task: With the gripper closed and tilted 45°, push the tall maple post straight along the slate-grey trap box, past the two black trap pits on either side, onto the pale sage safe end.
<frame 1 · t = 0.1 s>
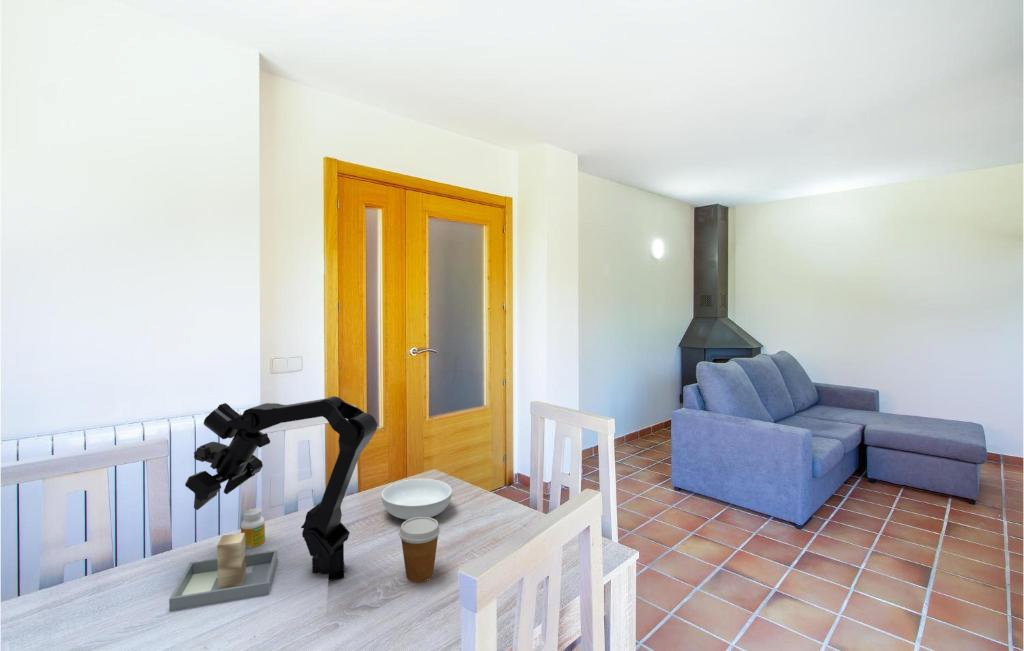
hand: (211, 500, 118), 15 cm above the table, tool tilted 35°, fingers open, 9 cm apart
supplement bottle: (253, 549, 125), on the table
disposable coffee cup: (419, 575, 114), on the table
maple post: (232, 582, 107), point 1 cm above the table, touching trap box
trap box: (228, 589, 107), on the table
serving bowl: (417, 513, 146), on the table
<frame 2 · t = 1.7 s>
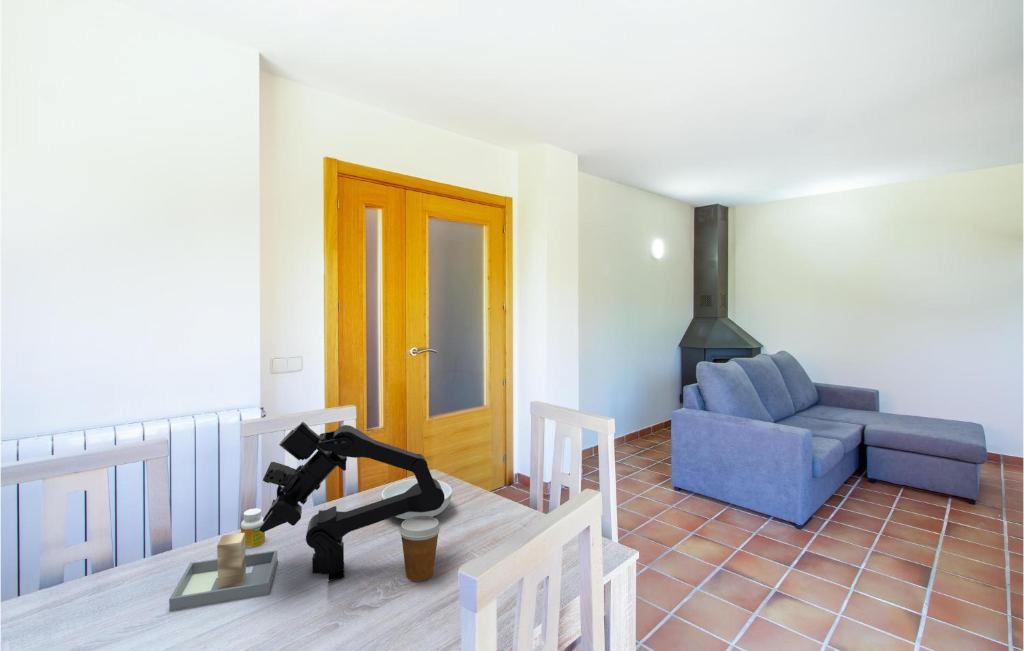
hand: (262, 526, 108), 13 cm above the table, tool tilted 45°, fingers open, 4 cm apart
disposable coffee cup: (419, 574, 114), on the table, touching arm
everything else where it was.
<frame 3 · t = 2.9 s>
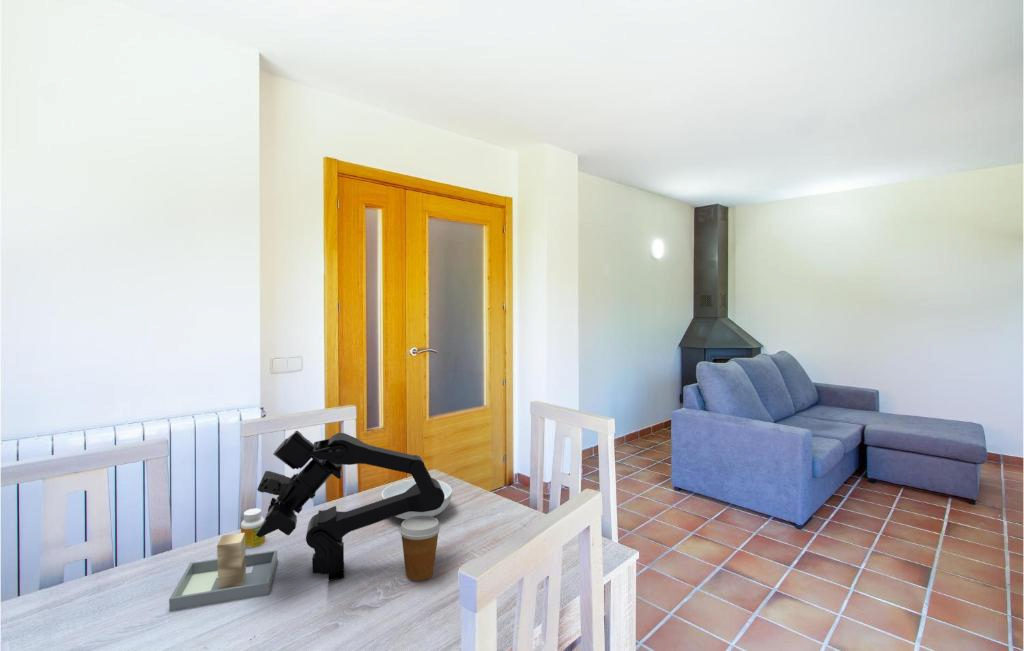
hand: (257, 535, 108), 11 cm above the table, tool tilted 45°, fingers closed
nothing on the table moved.
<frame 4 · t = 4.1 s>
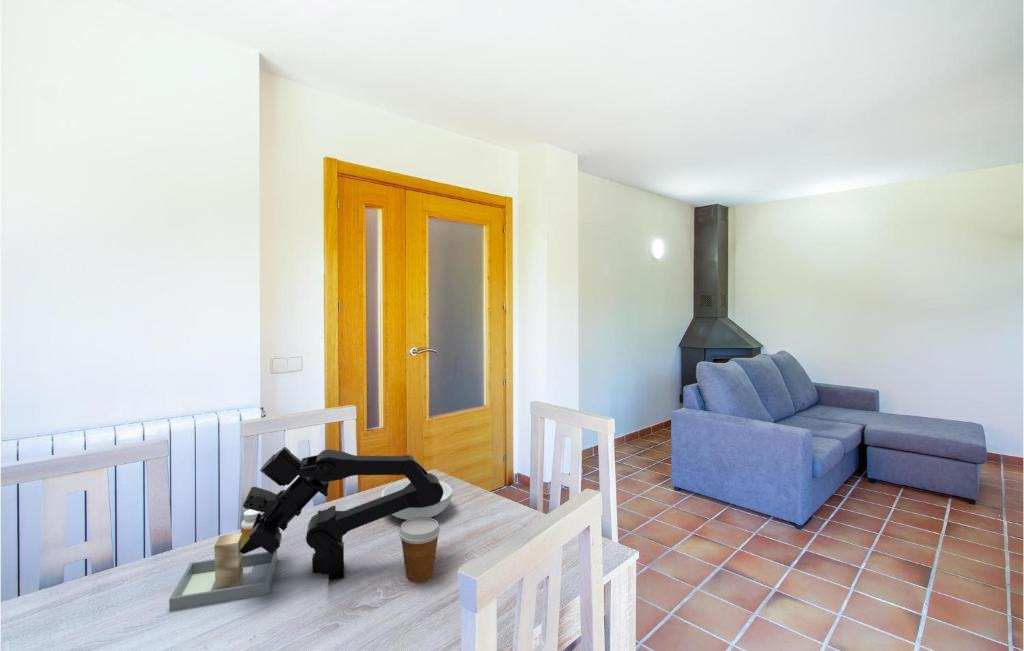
hand: (241, 552, 107), 8 cm above the table, tool tilted 45°, fingers closed, pressing on maple post
disposable coffee cup: (419, 575, 114), on the table
maple post: (229, 583, 107), point 1 cm above the table, touching gripper, trap box
everything else where it was.
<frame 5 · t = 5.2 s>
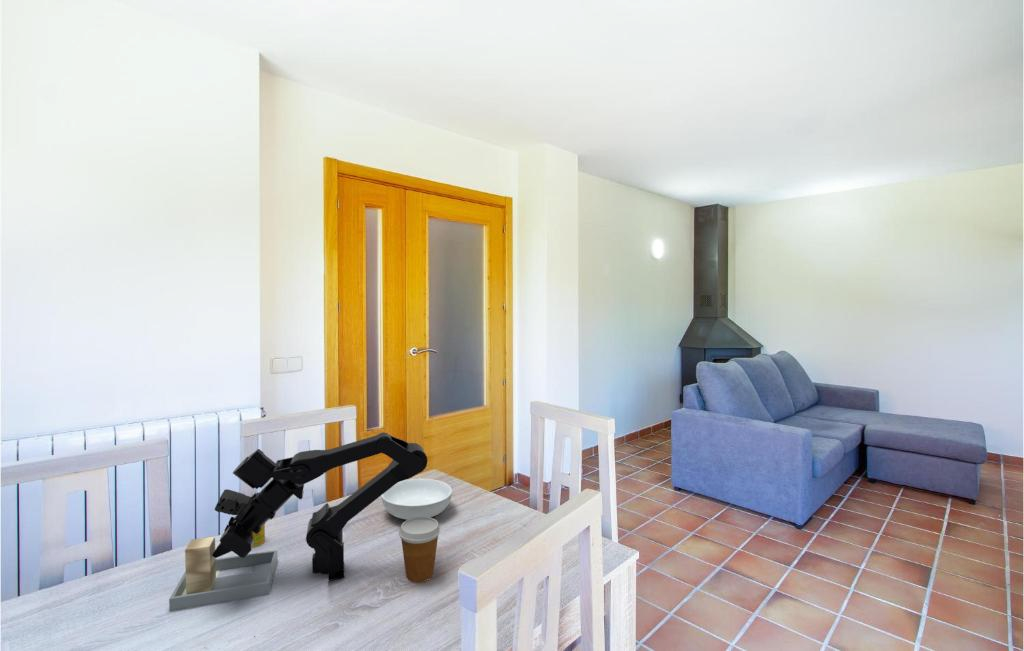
hand: (214, 556, 106), 8 cm above the table, tool tilted 45°, fingers closed, pressing on maple post
maple post: (201, 587, 105), point 1 cm above the table, touching gripper, trap box
everything else where it was.
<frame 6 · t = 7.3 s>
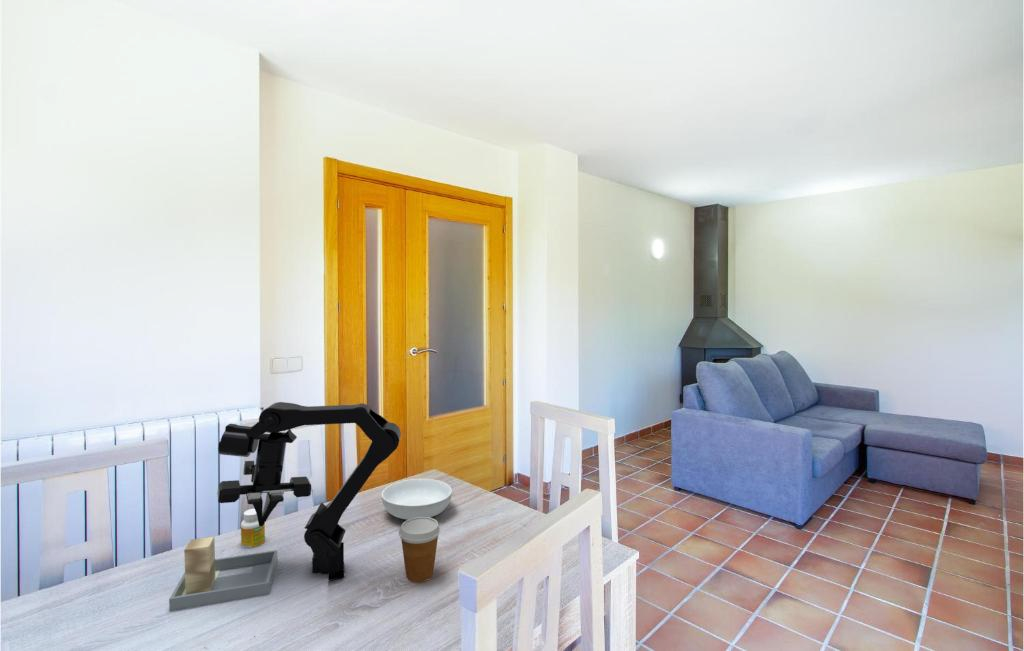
hand: (260, 525, 111), 13 cm above the table, tool pointing down, fingers closed
maple post: (201, 587, 105), point 1 cm above the table, touching trap box
everything else where it was.
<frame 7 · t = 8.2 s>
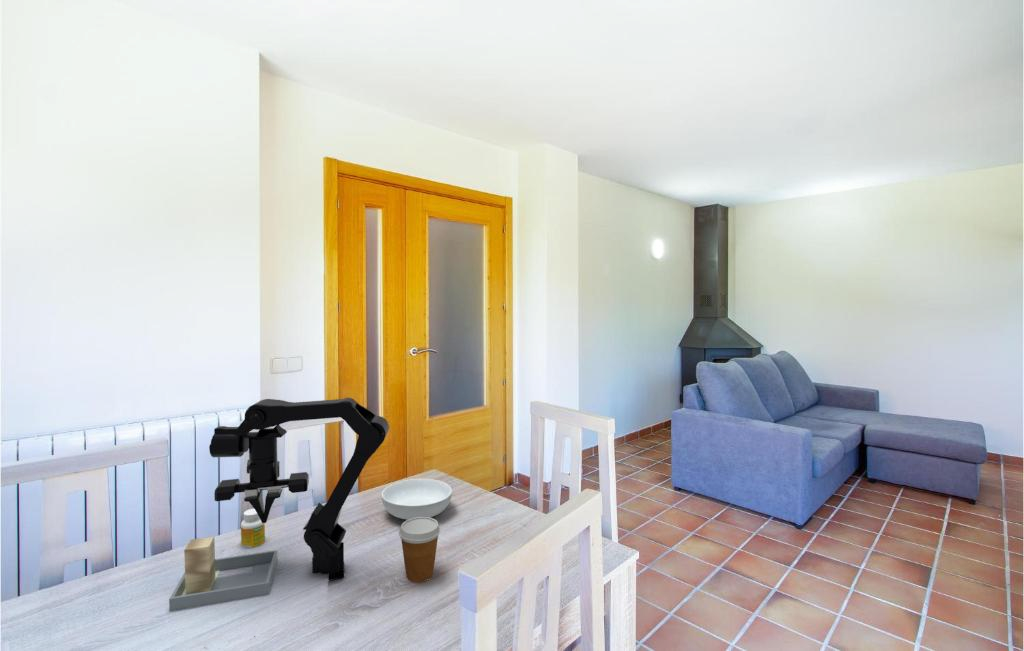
hand: (264, 522, 111), 13 cm above the table, tool pointing down, fingers closed
nothing on the table moved.
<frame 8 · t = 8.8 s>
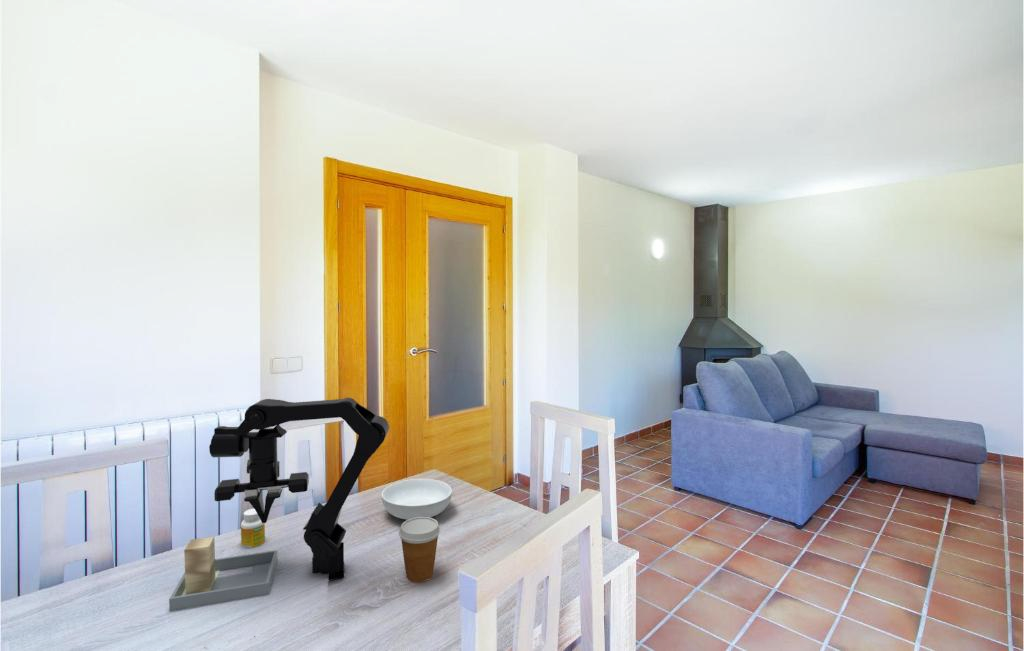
hand: (264, 522, 111), 13 cm above the table, tool pointing down, fingers closed
nothing on the table moved.
at the end: maple post 0.8 cm from the target spot, point 1.5 cm above the table; maple post tilted 0° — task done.
